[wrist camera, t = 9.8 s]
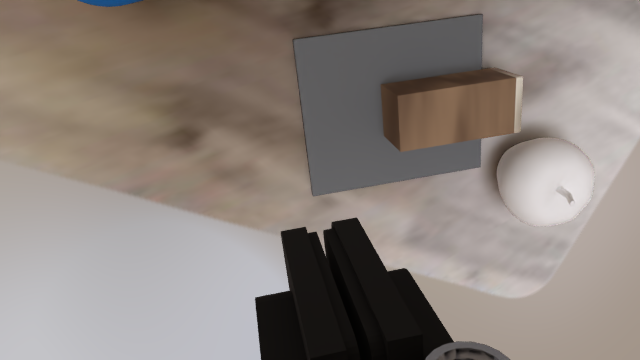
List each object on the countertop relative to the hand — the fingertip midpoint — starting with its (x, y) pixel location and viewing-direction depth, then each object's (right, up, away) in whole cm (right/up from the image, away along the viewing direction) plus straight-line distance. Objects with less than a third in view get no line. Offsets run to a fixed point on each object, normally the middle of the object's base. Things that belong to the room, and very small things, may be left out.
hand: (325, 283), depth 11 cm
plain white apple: (+17, +4, +32) cm, 36 cm away
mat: (+6, +8, +28) cm, 29 cm away
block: (+5, +7, +25) cm, 27 cm away
